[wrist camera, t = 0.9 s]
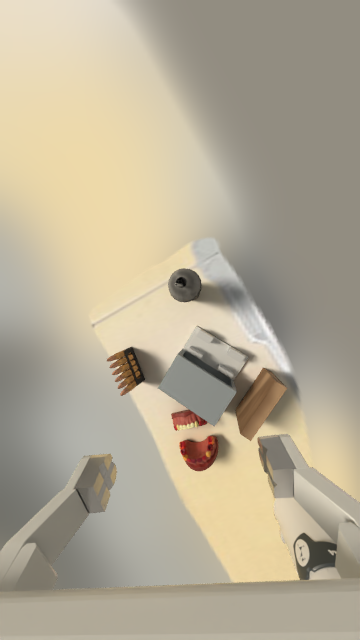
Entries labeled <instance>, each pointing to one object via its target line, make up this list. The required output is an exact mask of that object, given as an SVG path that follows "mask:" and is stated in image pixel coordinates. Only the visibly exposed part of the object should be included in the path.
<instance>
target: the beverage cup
mask: <svg viewBox="0 0 360 640" xmlns="http://www.w3.org/2000/svg"><path fill="white" fill-rule="evenodd" d="M168 287H169V291H170V293H171V295H172V297H173V298H174V299H176V300H178V301H180V302H189V301H191V300H194V299H196V298H197V297H198V296H199V293H200V291H201V280H200V277H199V275H198V274H197V273H196V272H194V271H192V270H190V269H179V270H177V271H175V272H174V273H173V274H172V275H171V277H170V279H169V283H168Z"/></svg>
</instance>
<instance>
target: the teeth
mask: <svg viewBox="0 0 360 640" xmlns="http://www.w3.org/2000/svg"><path fill="white" fill-rule="evenodd" d="M171 415H172V419H173V424H174V428H175V430H176V431H177V430H178V431H179V430H183V429H190V428H193V427H198V425H199V426H202V425H205V424H207V421H205V420H204V419H203V418H201V417H200V416H198V415H197V414H195V413H194V412H192V411H191V410H185V411H181V412H176V413H172V414H171ZM186 425H187V426H186ZM190 426H191V427H190ZM180 449H181V454H182V455H183V458H184V460H185V462H186V464H187V465H188V466H189V467H190V468H191V469H193V470H195V471H203V470H206V469H207V468H209V467H210V466H211V465H212V464H213V463H214V461H215V459H216V457H217V454H218V440H217V438H216V437H214V436H208V437H207V439H206V440H204V441H202V442H190V441H188V440H184V441H183V442H180Z"/></svg>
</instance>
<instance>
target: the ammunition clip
mask: <svg viewBox="0 0 360 640" xmlns="http://www.w3.org/2000/svg"><path fill="white" fill-rule="evenodd" d="M124 356H125V357H124ZM116 359H119V360H117V361H116V362H115V363H113V364H112V365H111V366H110V368H115V367H117V366H120V367H119V368H118V369H117V370H115V371H114V372H113V373H112V375H117V374H119V373H121V372H123V373H122V374H121V375H120V376H118V377H117V378H116V380H115V382H118V381H121V380H122V379H124V378H126V379H125V380H124V381H123V382H122V383H120V385H119V386H118V389H120V388H123V387H124V386H126V385H127V387H126V388H125V389H124V390H123V391H122V392H121V394H120V395H121V396H122V395H125V394H126V393H128V392H129V391H131V390H132V389H133V388H134V387H136V386H137V385H139V384H140V383H141V382H143V381H144V380H145V378H144V376H143V373H142V371H141V368H140V366H139V363H138V361H137V358H136V356H135V353H134V351H133V348H132V347H130V348H128V349H125V350H123V351H121V352H118V353H116V354H114V355H113V356H111V357H109V358H108V359H107V361H113V360H116ZM126 362H127V363H126ZM125 363H126V364H125ZM121 365H122V366H121ZM127 369H128V370H127ZM124 371H125V372H124ZM129 383H130V384H129Z"/></svg>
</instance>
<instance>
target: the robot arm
mask: <svg viewBox="0 0 360 640" xmlns="http://www.w3.org/2000/svg"><path fill="white" fill-rule="evenodd" d="M258 444H259V447H260V448H259V456H260V460H261V463H262V466H263V469H264V471H265V472H266V473H267V474H268V482H269V485H270V487H271V490H272V493H273V495H274V498H276V499H275V502H274V515H275V518H276V520H277V522H278V524H279V527H280V536H281V539H282V541H283V542H284V543H285V544H286V546H287V548H288V551H289V553H290V556H291V559H292V561H293V564H294V566H295V569H296V571H297V573H298V575H299V578H300V580H291V581H265V582H239V583H213V584H189V585H188V584H187V585H163V586H136V587H110V588H85V589H61V590H60V589H59V590H53V588H54V585H55V583H56V580H57V573H56V572H55V571H54V569H53V568H52V564H53V563H54V562H55V560H56V559H57V558H58V556H59V555H60V553H61V552H62V551H63V549H64V548H65V547H66V545H67V544H68V542H69V541H70V540H71V538H72V537H73V536H74V534H75V533H76V532H77V530H78V529H79V528H80V526H81V525H82V523H83V522H84V521H85V519H86V518H87V516H88V515H89V513H97V512H105V509H106V506H107V504H108V500H109V497H110V492H109V490H110V489H111V488H112V486H113V485H114V483H115V479H116V473H117V471H116V465H115V464H114V463H113V462H112V456H111V454H101V455H89V456H84V457H83V458H82V459H81V460H80V462H79V464H78V465H77V467H76V469H75V471H74V472H73V474H72V476H71V478H70V480H69V481H68V483H67V485H66V487H65V489H64V490H62V491H60V492H59V493H58V494H57V495H56V496H55V497H54V498H53V499H52V500H51V501H50V502H49V503H48V504H47V505H45V506H44V507H43V508H42V509H41V510H40V511H39V512H38V513H37V514H36V515H35V516H34V517H33V518H32V519H31V520H30V521H29V522H28V523H27V524H26V525H25V526H24V527H22V528H21V530H19V531H18V532H17V533H16V534H15V535H14V536H13V537H12V538H11V539H10V540H9V541H8V542H7V543H6V544H5V546H4V547H3V549H2V550H1V552H0V640H360V503H359V502H358V501H357V500H355V499H354V498H352V497H351V496H350V495H349V494H347V493H346V492H345V491H343V490H342V489H341V488H339V487H338V486H337V485H335V484H334V483H333V482H331V481H330V480H329V479H327V478H326V477H325V476H323V475H322V474H321V473H319V472H318V471H317V470H315V469H314V468H313V467H312V468H309V466H308V465H307V463H306V461H305V460H304V458H303V457H302V455H301V453H300V452H299V450H298V448H297V447H296V445H295V443H294V442H293V440H292V439H291V437H290V436H289V435H288V434H282V435H271V436H263V437H258Z"/></svg>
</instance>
